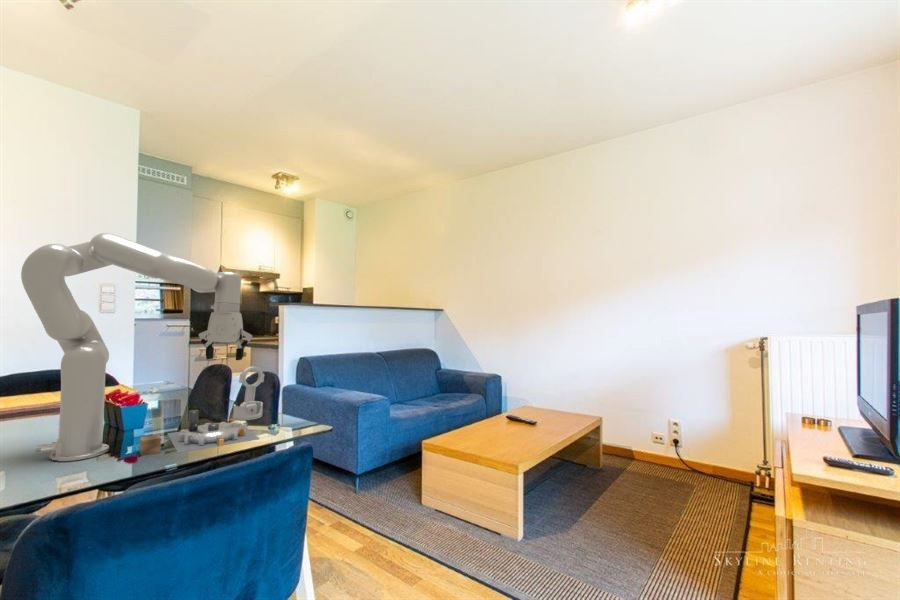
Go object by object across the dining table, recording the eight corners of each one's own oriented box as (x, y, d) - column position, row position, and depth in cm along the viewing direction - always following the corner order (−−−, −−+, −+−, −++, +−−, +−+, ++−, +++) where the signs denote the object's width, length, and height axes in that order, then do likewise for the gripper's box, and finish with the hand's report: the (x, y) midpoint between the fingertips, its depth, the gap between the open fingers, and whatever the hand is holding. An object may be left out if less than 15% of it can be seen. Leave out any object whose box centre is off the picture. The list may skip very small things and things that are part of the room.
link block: (140, 461, 115) (141, 440, 115) (139, 456, 118) (140, 436, 118) (160, 458, 118) (161, 438, 118) (158, 453, 121) (159, 434, 121)
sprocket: (183, 449, 120) (184, 421, 121) (174, 433, 135) (175, 408, 135) (252, 437, 132) (253, 412, 133) (237, 424, 147) (238, 401, 147)
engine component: (228, 421, 158) (241, 425, 152) (230, 366, 158) (243, 369, 152) (256, 415, 166) (269, 420, 160) (258, 364, 167) (271, 366, 161)
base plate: (177, 458, 118) (178, 447, 118) (166, 438, 135) (167, 428, 135) (259, 443, 132) (260, 433, 132) (240, 427, 150) (240, 418, 150)
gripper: (194, 307, 137) (191, 359, 136) (248, 309, 137) (245, 361, 137) (207, 308, 144) (204, 357, 144) (257, 309, 145) (255, 359, 144)
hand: (224, 359), depth 140 cm, fingers open, 9 cm apart
